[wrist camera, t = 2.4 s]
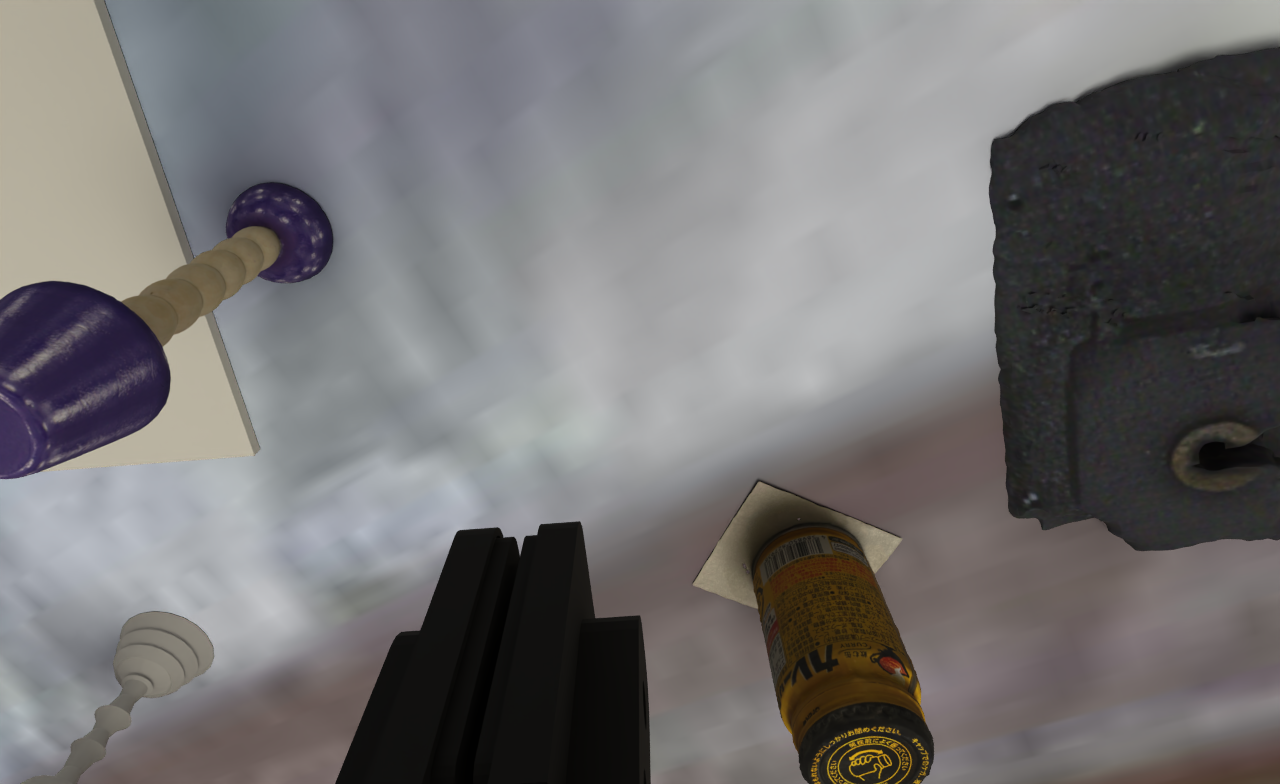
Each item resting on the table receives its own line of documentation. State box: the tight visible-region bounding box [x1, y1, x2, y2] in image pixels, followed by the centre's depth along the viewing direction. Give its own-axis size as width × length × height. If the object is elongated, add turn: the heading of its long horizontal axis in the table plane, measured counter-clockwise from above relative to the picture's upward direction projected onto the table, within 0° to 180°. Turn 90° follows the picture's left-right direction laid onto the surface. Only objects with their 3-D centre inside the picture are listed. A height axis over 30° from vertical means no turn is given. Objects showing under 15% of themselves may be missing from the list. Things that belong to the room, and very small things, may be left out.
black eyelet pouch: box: [989, 47, 1280, 551], centre depth 32 cm, size 15×22×5 cm
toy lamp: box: [0, 183, 333, 479], centre depth 25 cm, size 5×5×17 cm
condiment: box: [693, 482, 934, 784], centre depth 34 cm, size 7×8×12 cm
